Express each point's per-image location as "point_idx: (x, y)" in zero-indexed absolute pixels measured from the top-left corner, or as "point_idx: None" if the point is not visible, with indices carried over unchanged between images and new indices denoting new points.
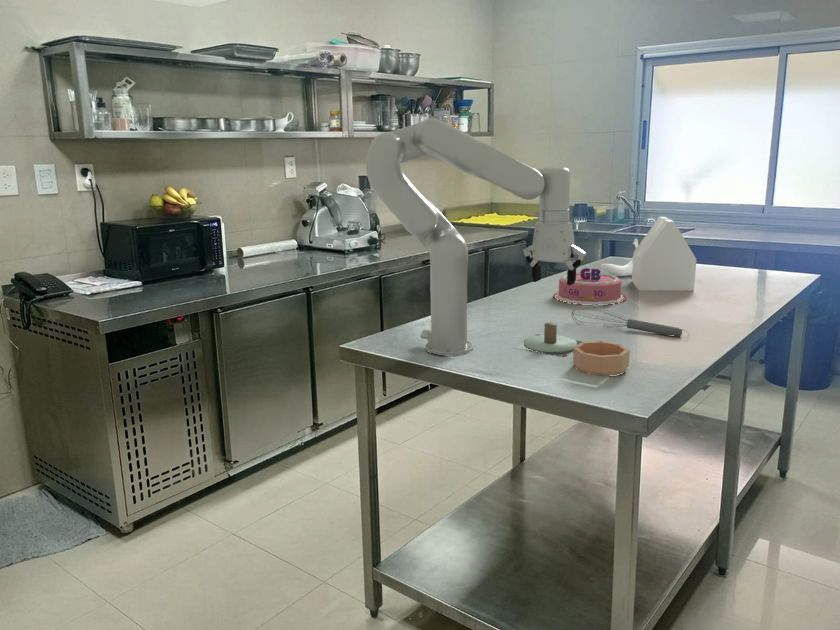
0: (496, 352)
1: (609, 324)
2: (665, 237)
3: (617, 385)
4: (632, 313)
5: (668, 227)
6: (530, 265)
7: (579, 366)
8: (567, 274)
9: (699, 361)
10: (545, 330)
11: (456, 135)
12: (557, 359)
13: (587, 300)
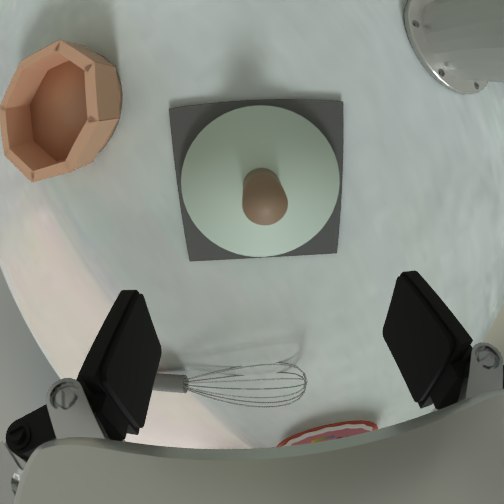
0: (358, 56)
1: (215, 372)
2: None
3: (20, 59)
4: (236, 428)
5: None
6: (492, 347)
7: (84, 47)
8: (112, 347)
9: (12, 272)
10: (273, 179)
11: None
12: (181, 90)
13: (320, 435)
